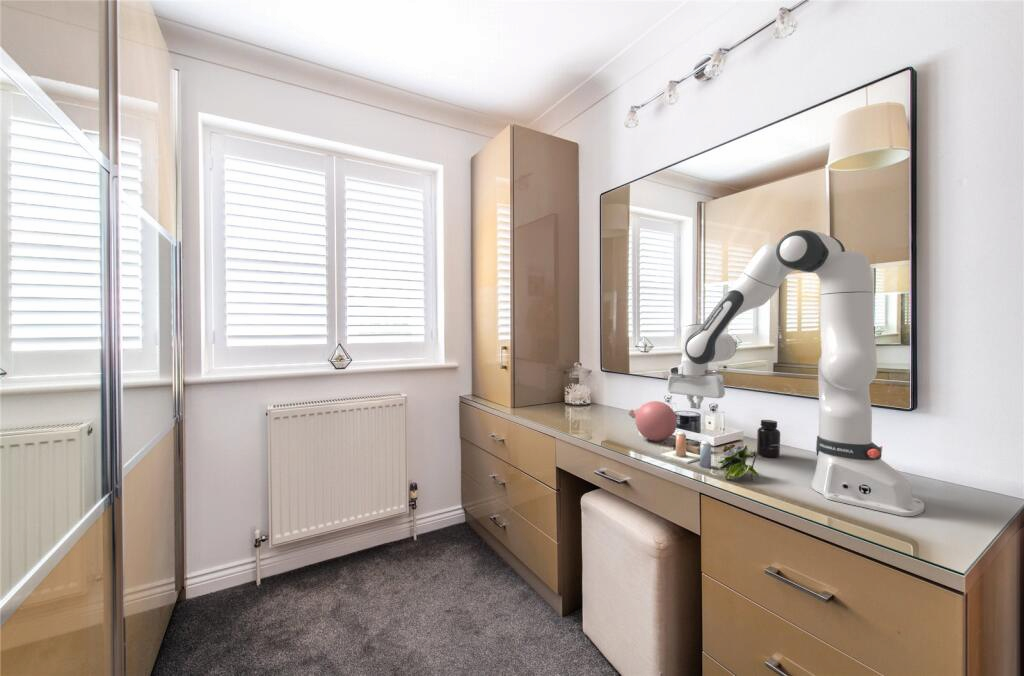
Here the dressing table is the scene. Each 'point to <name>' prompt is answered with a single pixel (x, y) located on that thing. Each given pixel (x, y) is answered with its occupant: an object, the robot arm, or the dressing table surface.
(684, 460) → the sketch pad
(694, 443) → the button
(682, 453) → the cylinder
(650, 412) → the pink balloon
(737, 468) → the passion flower
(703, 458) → the cylinder
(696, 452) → the button block
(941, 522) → the dressing table surface
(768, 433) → the supplement bottle
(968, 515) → the dressing table surface
